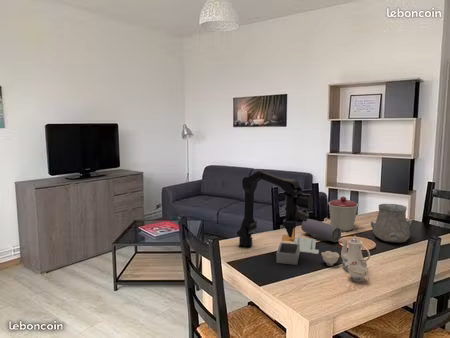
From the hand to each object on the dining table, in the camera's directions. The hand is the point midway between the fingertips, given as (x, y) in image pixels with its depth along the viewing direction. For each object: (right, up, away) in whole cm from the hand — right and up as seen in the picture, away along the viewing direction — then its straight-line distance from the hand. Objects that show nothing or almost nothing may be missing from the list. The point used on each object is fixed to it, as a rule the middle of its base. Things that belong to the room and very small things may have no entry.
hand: (290, 235), depth 169 cm
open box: (-1, -12, +2) cm, 12 cm away
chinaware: (+24, -14, -13) cm, 31 cm away
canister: (+42, -5, +47) cm, 63 cm away
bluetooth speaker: (+23, -8, +30) cm, 39 cm away
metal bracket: (+11, -10, +15) cm, 21 cm away
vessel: (+63, -8, +25) cm, 68 cm away
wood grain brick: (-1, -2, +1) cm, 3 cm away
